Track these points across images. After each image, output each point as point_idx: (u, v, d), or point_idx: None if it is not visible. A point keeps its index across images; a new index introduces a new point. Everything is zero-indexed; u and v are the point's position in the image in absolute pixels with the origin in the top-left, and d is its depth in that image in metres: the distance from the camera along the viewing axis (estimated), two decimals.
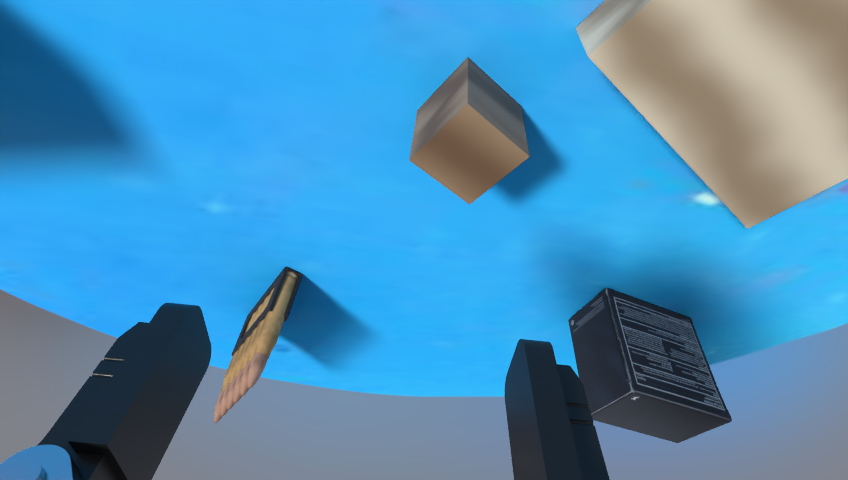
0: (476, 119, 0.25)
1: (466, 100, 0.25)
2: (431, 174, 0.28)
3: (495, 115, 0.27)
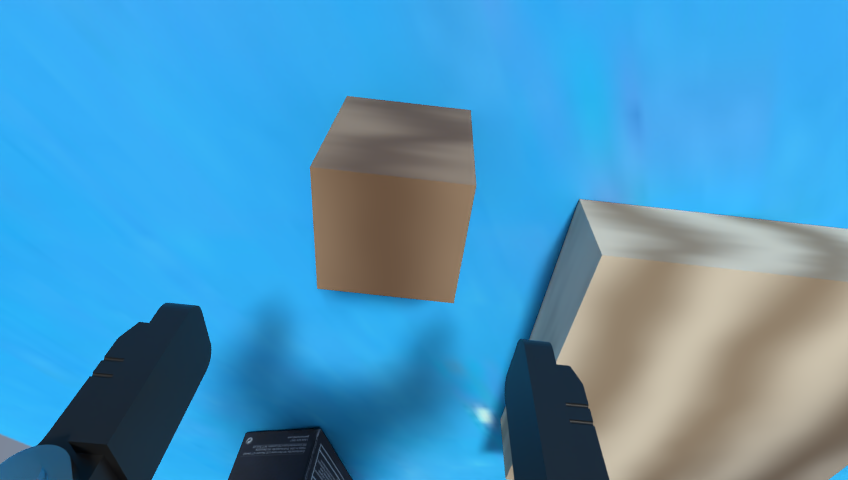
0: (459, 211, 0.14)
1: (471, 176, 0.14)
2: (316, 213, 0.15)
3: None
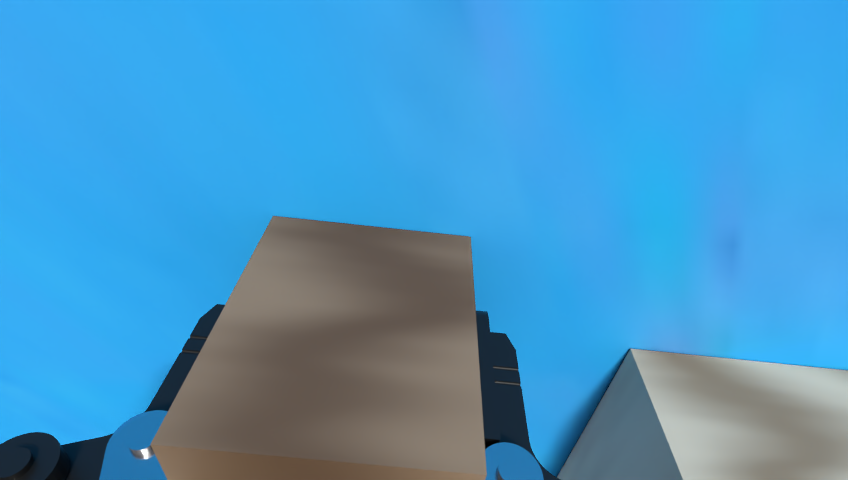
0: None
1: (476, 440, 0.07)
2: None
3: None
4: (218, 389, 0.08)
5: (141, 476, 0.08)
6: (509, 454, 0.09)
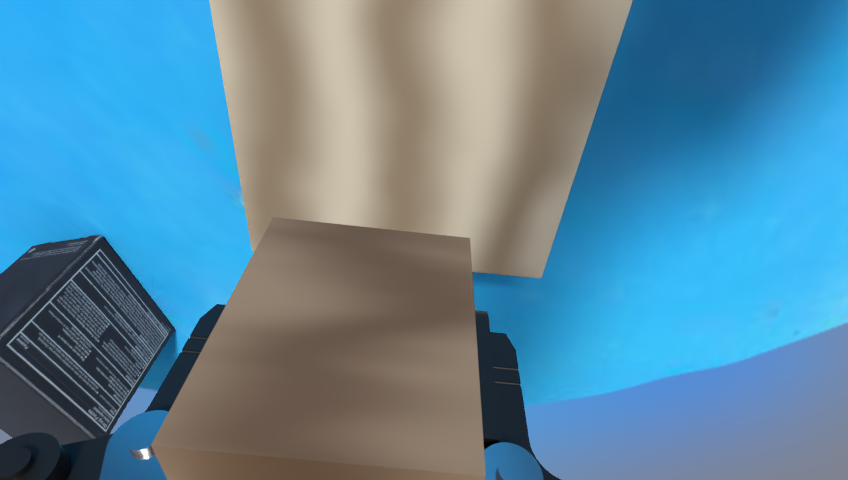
0: None
1: (475, 440, 0.07)
2: None
3: None
4: (218, 390, 0.08)
5: (141, 476, 0.08)
6: (509, 454, 0.09)
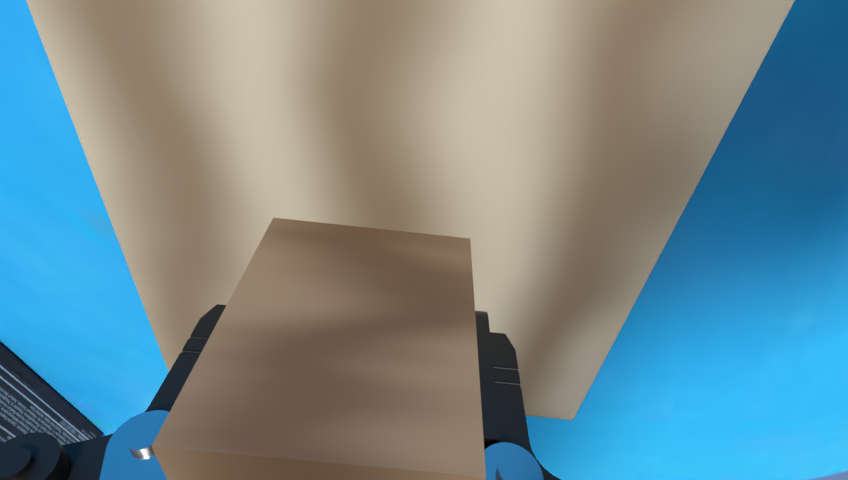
0: None
1: (475, 442, 0.07)
2: None
3: None
4: (218, 391, 0.08)
5: (141, 476, 0.08)
6: (509, 454, 0.09)
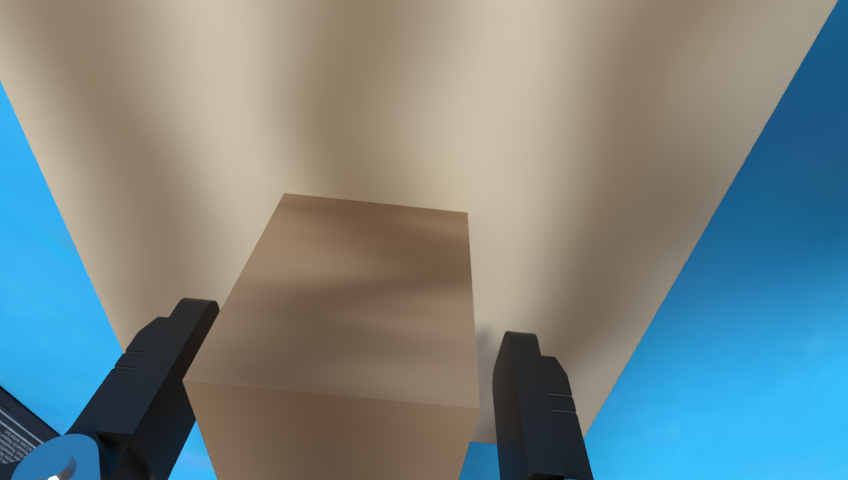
0: (451, 438, 0.08)
1: (471, 381, 0.08)
2: (207, 435, 0.09)
3: None
4: (240, 337, 0.08)
5: None
6: None
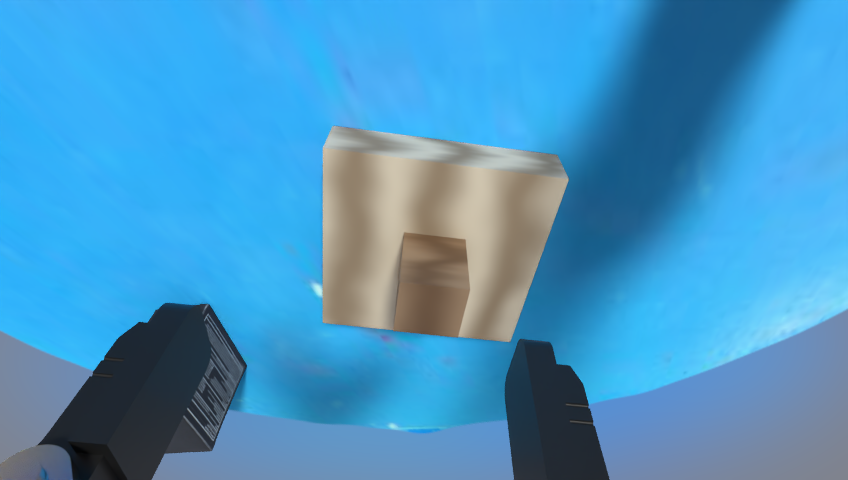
0: (462, 299, 0.33)
1: (467, 284, 0.33)
2: (399, 299, 0.33)
3: None
4: (408, 273, 0.33)
5: None
6: None
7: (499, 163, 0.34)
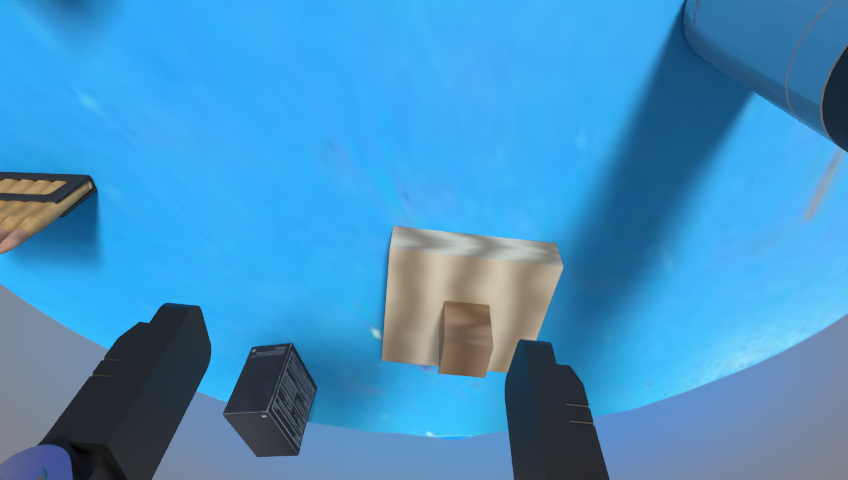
0: (488, 353, 0.47)
1: (491, 343, 0.47)
2: (443, 353, 0.47)
3: None
4: (450, 335, 0.47)
5: None
6: None
7: (513, 255, 0.48)
